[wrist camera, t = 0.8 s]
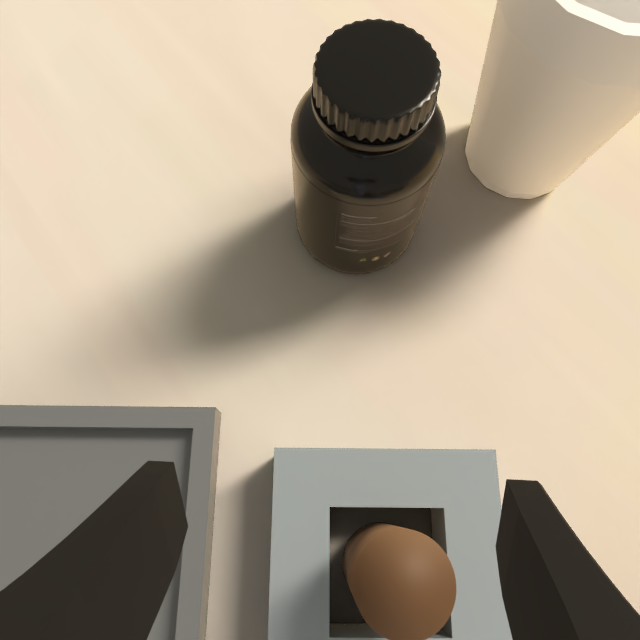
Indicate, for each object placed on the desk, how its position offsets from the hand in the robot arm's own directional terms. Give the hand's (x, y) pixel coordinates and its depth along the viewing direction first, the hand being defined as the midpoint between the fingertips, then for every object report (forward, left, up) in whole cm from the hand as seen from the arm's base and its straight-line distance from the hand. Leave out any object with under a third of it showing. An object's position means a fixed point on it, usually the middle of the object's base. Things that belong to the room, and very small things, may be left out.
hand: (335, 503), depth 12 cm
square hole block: (-3, -3, -15) cm, 16 cm away
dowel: (-3, -3, -15) cm, 16 cm away
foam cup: (+20, -12, -15) cm, 28 cm away
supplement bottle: (+15, -2, -15) cm, 22 cm away
